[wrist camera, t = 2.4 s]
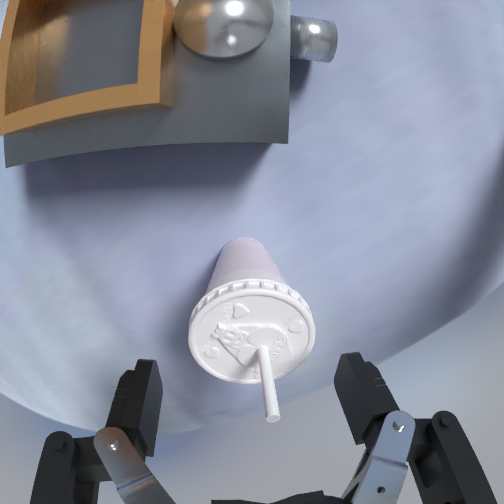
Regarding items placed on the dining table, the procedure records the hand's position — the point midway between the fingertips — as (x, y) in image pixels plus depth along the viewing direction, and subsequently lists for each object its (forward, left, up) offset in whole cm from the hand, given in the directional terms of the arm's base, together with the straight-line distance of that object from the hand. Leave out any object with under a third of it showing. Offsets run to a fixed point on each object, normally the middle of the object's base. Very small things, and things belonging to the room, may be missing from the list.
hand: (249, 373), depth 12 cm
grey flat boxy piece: (+5, -16, -12) cm, 20 cm away
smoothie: (0, 0, -12) cm, 12 cm away
